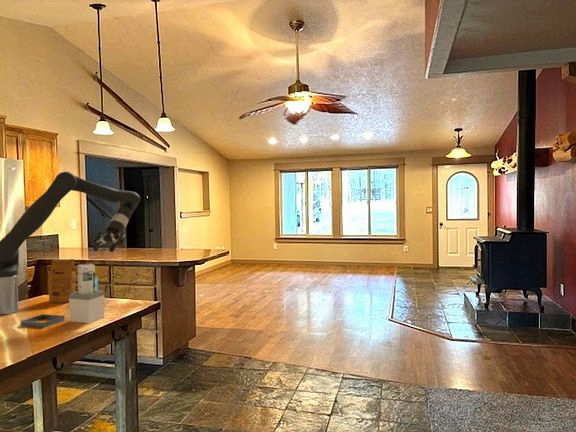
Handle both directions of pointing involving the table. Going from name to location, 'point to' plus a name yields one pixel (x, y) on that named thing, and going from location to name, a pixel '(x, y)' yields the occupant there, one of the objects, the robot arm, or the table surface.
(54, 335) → the table surface
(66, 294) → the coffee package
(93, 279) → the syrup box
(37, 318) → the lower collar
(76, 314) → the raised dock
